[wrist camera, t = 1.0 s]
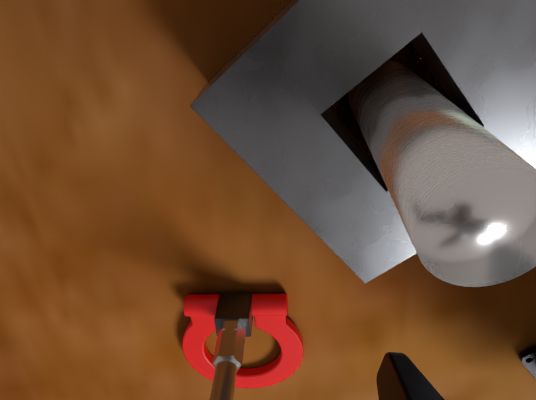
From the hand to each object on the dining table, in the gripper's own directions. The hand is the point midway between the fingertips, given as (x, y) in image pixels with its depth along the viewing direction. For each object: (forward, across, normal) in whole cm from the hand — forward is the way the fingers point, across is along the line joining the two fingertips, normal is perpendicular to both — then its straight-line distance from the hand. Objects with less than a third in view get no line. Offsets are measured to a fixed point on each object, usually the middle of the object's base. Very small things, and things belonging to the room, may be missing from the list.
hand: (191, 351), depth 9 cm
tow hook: (+13, -2, +15) cm, 20 cm away
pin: (+13, -7, -3) cm, 15 cm away
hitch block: (+13, -7, -3) cm, 15 cm away
